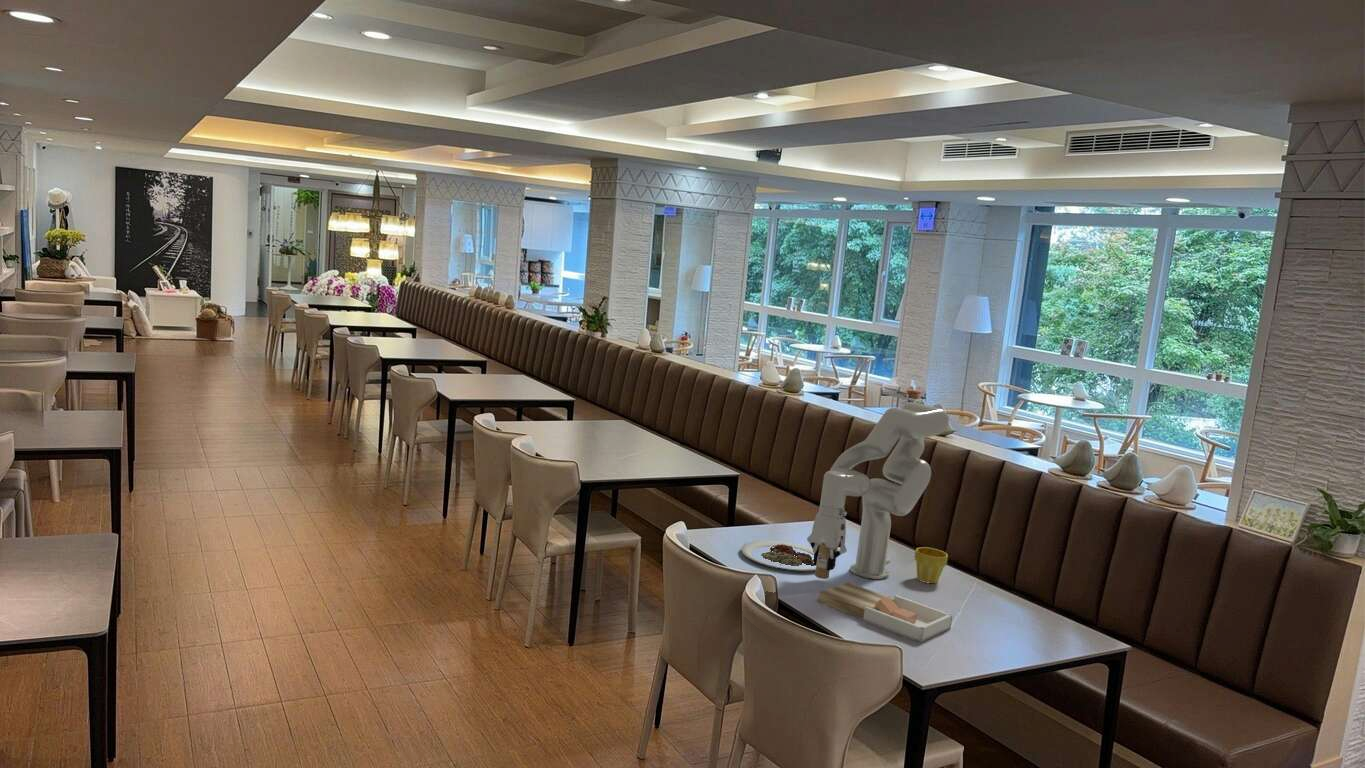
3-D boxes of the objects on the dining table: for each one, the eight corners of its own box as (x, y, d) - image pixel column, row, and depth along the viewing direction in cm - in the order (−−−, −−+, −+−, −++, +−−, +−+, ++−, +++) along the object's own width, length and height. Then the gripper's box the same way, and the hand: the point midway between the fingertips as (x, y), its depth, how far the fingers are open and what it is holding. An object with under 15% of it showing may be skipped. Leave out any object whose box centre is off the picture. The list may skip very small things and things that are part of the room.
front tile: (917, 613, 269) (915, 622, 269) (901, 608, 272) (900, 616, 272) (908, 617, 265) (906, 625, 265) (892, 611, 268) (891, 619, 269)
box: (894, 608, 280) (896, 595, 280) (950, 628, 269) (952, 615, 268) (863, 620, 267) (864, 607, 267) (920, 642, 255) (922, 628, 255)
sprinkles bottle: (811, 576, 297) (817, 534, 295) (819, 573, 300) (825, 532, 299) (824, 580, 294) (830, 538, 292) (831, 577, 297) (837, 536, 296)
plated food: (772, 577, 296) (773, 567, 296) (724, 547, 323) (725, 538, 322) (848, 572, 311) (849, 562, 310) (796, 543, 337) (798, 534, 336)
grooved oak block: (847, 591, 290) (848, 582, 290) (893, 608, 280) (894, 599, 279) (817, 601, 278) (819, 592, 278) (864, 619, 268) (866, 609, 267)
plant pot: (945, 588, 305) (950, 558, 304) (913, 583, 306) (917, 554, 305) (941, 577, 315) (945, 549, 314) (909, 573, 316) (913, 545, 315)
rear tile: (884, 601, 275) (888, 596, 274) (895, 615, 273) (900, 609, 272) (874, 605, 272) (879, 599, 270) (886, 618, 269) (891, 613, 268)
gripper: (860, 516, 292) (852, 573, 294) (815, 502, 303) (808, 557, 305) (847, 519, 286) (839, 577, 289) (802, 505, 297) (794, 561, 300)
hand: (823, 566), depth 297 cm, fingers closed on sprinkles bottle, 4 cm apart
